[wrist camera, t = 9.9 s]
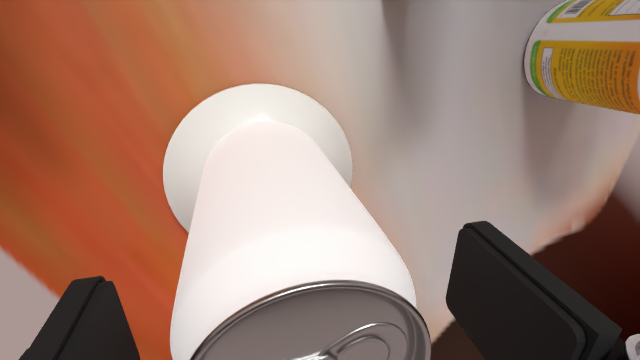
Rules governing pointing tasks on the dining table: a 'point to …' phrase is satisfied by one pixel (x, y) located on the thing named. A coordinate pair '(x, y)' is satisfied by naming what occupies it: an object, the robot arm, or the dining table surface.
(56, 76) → the dining table surface
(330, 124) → the coaster
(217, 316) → the can
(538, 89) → the supplement bottle
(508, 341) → the robot arm
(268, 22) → the dining table surface
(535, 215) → the dining table surface
